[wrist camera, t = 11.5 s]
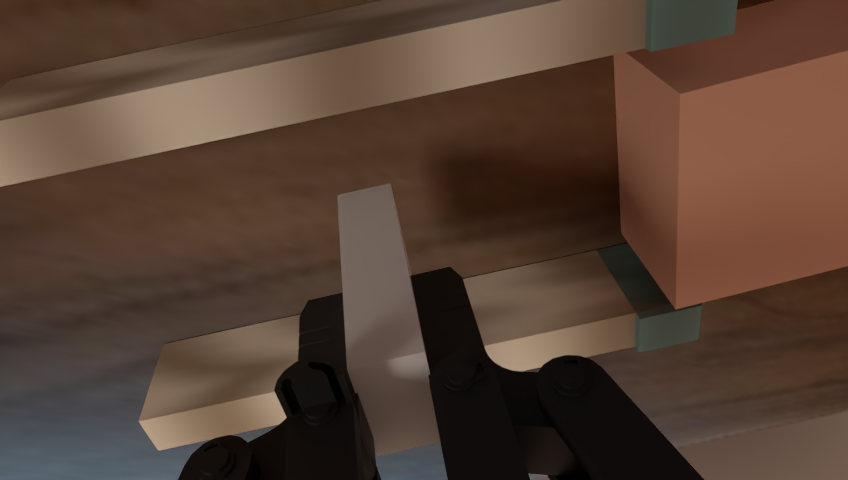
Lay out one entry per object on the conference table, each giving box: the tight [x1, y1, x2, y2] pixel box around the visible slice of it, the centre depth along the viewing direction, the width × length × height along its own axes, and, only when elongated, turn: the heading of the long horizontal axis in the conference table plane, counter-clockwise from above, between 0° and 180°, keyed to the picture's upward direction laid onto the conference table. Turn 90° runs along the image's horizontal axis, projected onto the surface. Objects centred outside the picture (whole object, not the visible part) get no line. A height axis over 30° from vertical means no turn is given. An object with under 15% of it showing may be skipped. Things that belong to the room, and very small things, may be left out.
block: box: [614, 0, 848, 309], centre depth 18 cm, size 10×7×4 cm
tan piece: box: [0, 0, 738, 451], centre depth 18 cm, size 18×12×4 cm, turn 100°
